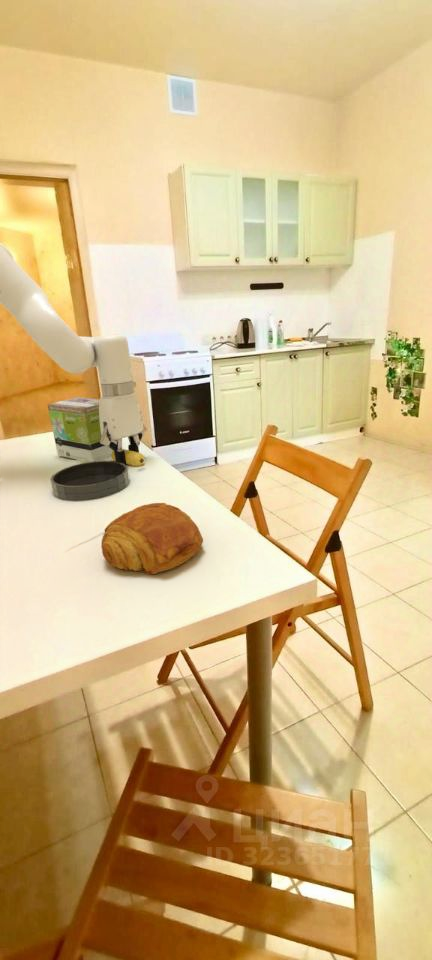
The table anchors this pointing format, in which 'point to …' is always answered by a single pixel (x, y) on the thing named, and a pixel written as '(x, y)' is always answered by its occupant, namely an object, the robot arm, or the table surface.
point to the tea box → (78, 429)
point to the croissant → (151, 539)
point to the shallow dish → (90, 480)
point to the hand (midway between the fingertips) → (128, 462)
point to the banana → (131, 458)
